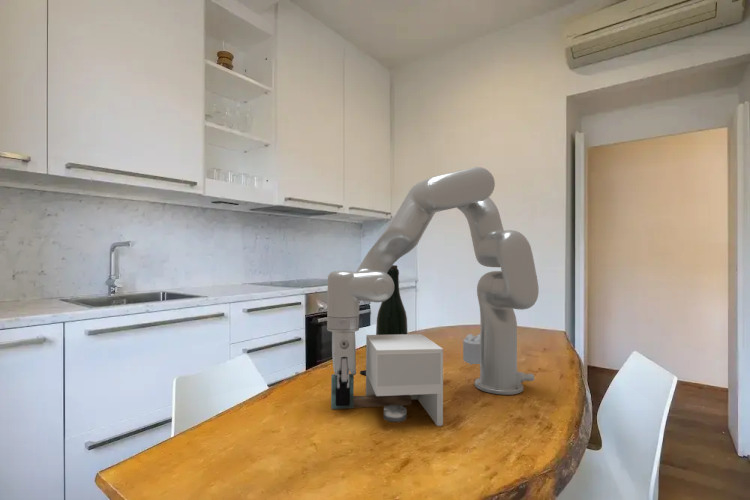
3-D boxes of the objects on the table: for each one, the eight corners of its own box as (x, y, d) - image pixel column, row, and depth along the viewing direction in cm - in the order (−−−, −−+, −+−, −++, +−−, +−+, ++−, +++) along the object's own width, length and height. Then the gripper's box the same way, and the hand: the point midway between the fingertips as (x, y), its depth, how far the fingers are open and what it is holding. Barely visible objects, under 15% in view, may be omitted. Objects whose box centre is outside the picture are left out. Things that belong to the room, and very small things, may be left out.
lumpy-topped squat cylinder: (501, 360, 136) (501, 335, 136) (482, 367, 127) (482, 340, 127) (475, 355, 144) (475, 331, 144) (455, 361, 134) (455, 336, 135)
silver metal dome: (401, 412, 88) (402, 403, 88) (409, 421, 83) (410, 412, 83) (380, 414, 86) (381, 405, 86) (387, 423, 81) (387, 414, 82)
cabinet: (421, 397, 97) (421, 334, 98) (443, 425, 80) (443, 348, 81) (365, 399, 95) (366, 335, 96) (376, 429, 78) (376, 350, 79)
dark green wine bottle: (413, 366, 127) (413, 265, 128) (397, 373, 118) (398, 265, 120) (385, 361, 133) (386, 265, 134) (369, 368, 124) (370, 264, 125)
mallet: (408, 400, 95) (408, 372, 95) (411, 405, 92) (411, 375, 92) (331, 404, 92) (331, 374, 92) (331, 409, 89) (332, 378, 89)
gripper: (362, 329, 84) (362, 415, 83) (355, 318, 100) (354, 390, 100) (328, 329, 83) (326, 417, 82) (326, 318, 99) (325, 391, 98)
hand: (342, 401), depth 91 cm, fingers closed on mallet, 3 cm apart
